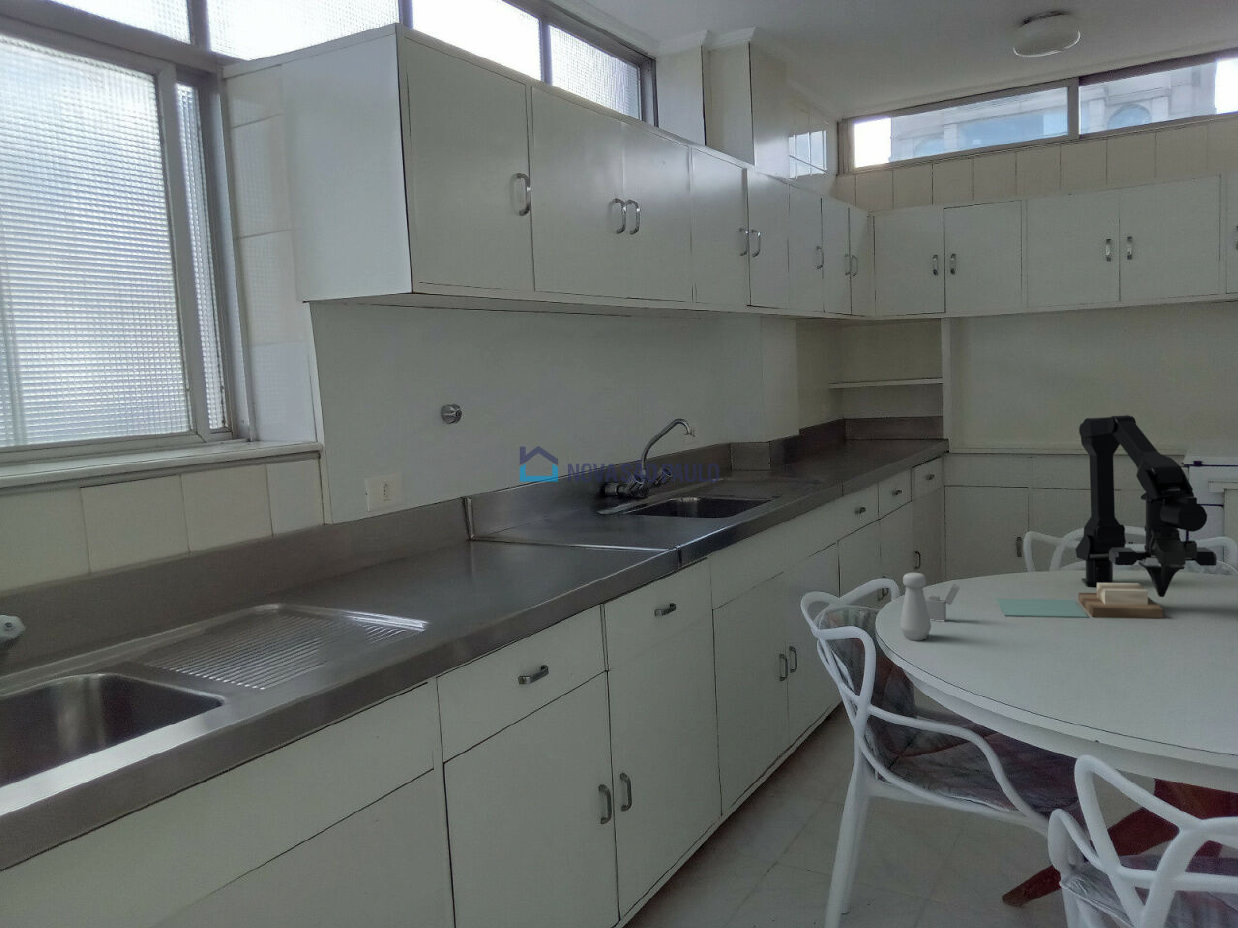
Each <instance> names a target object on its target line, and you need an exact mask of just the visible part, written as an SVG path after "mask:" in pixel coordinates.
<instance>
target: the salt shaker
mask: <svg viewBox="0 0 1238 928" xmlns="http://www.w3.org/2000/svg"><path fill="white" fill-rule="evenodd" d="M926 578H927V577H926V576H925V575H924V574H923V573H919V572H909V573H905V574H904V575H903V578H902V583H903V585H904V586H905V593H904V594H905V595H904V598H903V599H904V600H903V607H902V614H901V619H900V629H901V631H902V633H903V636H904V638H905V637H906V640H908V639H909V640H910V641H916V640H919V641H924V640H923V639H925V640H927V638H928V635H929V633H930V631H931V629H932V624H931V621H930V619H929V614H928V610H927V606H926V601H925V599H926V597H925V594H924V589H923V587H925V586H926V583H927V579H926Z"/></svg>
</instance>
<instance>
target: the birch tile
mask: <svg viewBox="0 0 1238 928" xmlns="http://www.w3.org/2000/svg"><path fill="white" fill-rule="evenodd" d="M1148 592H1149V591H1148V590H1147V589H1146V588H1145V587H1144V586H1142V585H1141V584H1140V583H1138V582H1115V583H1097V586H1096V593H1097V597H1098V598H1099V599H1100V600H1101V601H1102V602H1103V603H1104V604H1113V605H1148V597H1149V595H1148V594H1149V593H1148Z"/></svg>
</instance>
